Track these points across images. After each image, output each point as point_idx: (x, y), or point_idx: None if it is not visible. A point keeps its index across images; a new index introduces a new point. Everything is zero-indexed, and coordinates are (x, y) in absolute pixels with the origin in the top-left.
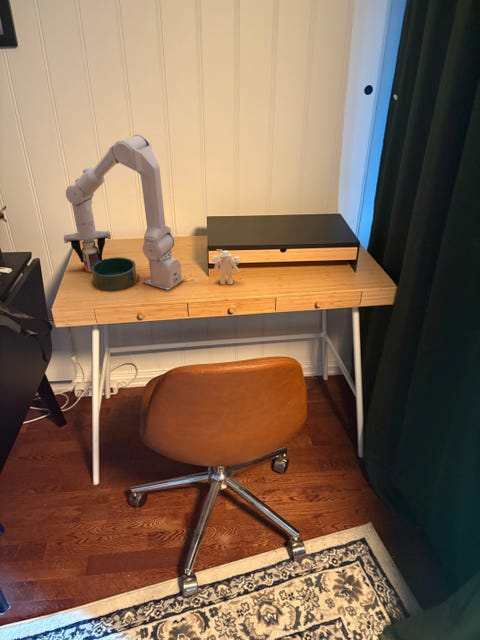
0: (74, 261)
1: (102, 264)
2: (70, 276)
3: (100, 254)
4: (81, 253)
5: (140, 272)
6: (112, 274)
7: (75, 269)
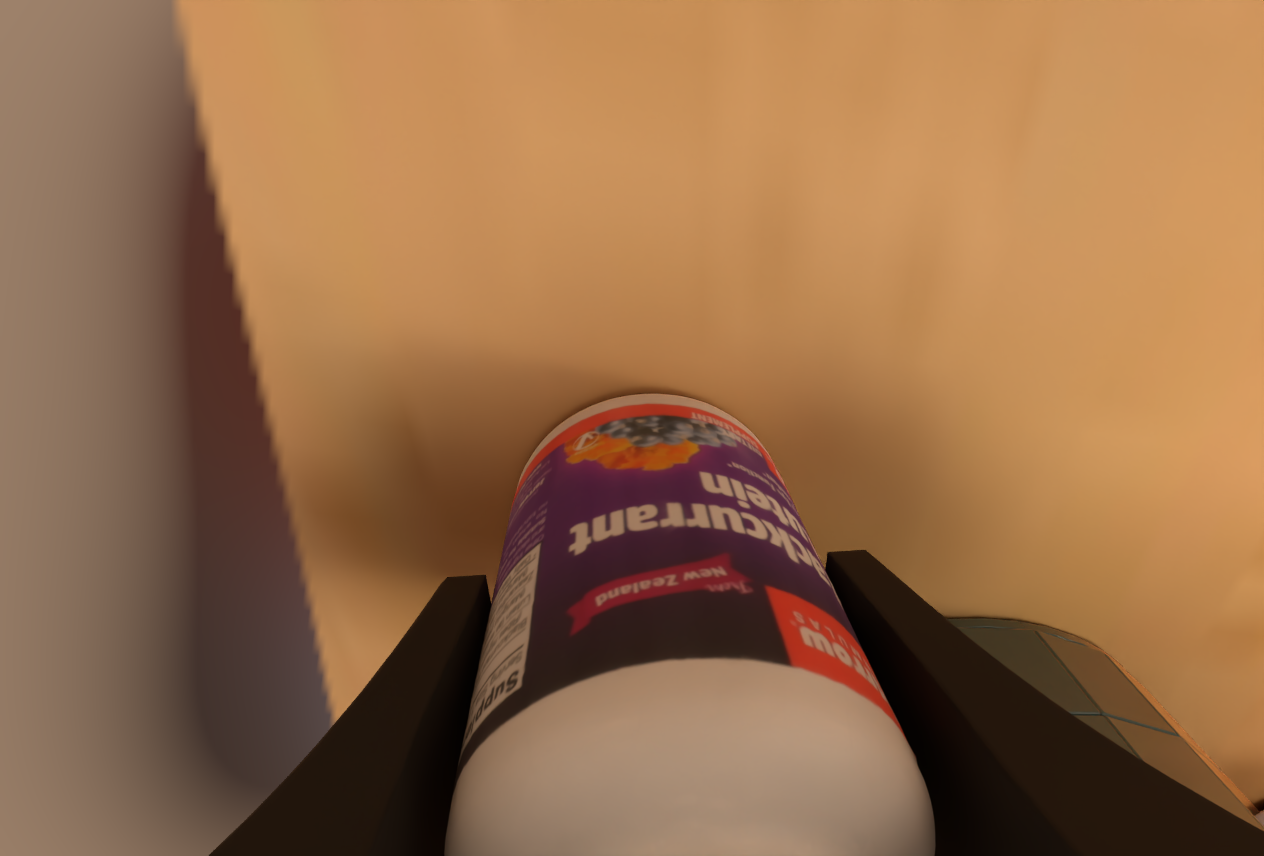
0: (203, 116)
1: None
2: (342, 665)
3: None
4: (452, 793)
5: (1230, 676)
6: None
7: (350, 484)
